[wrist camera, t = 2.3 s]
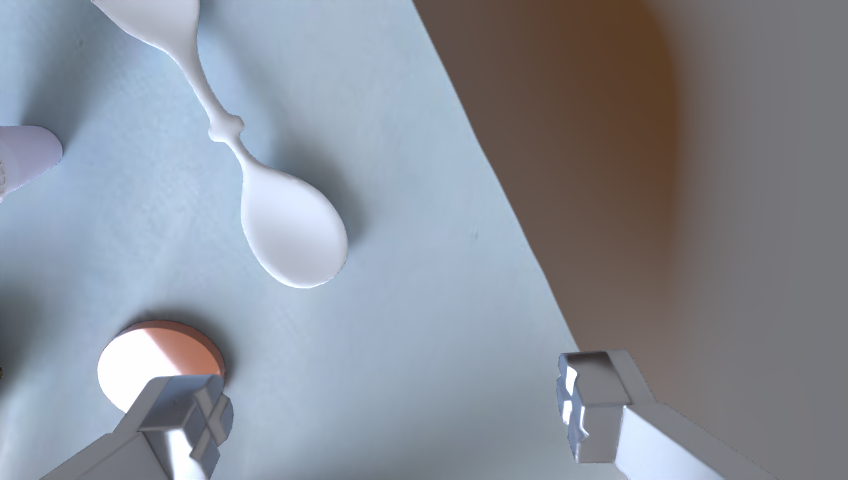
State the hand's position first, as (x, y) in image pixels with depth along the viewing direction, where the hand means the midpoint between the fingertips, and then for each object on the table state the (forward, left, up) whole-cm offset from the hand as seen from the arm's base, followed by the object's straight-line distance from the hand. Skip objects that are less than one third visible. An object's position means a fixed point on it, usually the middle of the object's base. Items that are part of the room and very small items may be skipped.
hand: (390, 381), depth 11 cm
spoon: (-7, +10, -35) cm, 37 cm away
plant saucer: (-33, +2, -35) cm, 48 cm away
